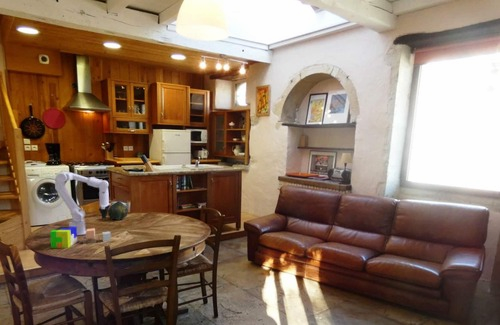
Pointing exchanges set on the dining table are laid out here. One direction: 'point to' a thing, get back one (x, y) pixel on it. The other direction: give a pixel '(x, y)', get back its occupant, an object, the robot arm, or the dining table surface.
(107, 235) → the light grey block
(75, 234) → the puzzle toy
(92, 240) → the wood slab
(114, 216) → the squash
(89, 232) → the peach block
